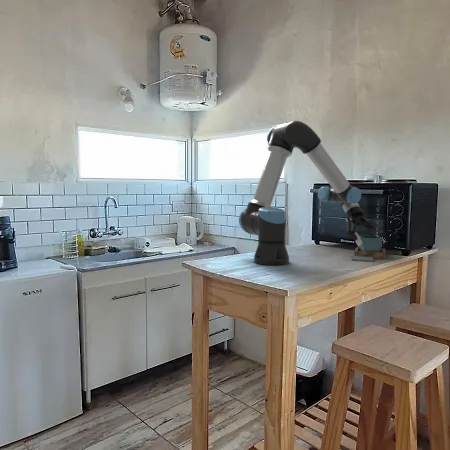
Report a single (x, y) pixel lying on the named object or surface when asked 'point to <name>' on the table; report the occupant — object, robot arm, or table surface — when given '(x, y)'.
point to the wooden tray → (371, 253)
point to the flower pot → (371, 243)
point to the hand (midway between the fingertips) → (372, 244)
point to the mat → (362, 258)
